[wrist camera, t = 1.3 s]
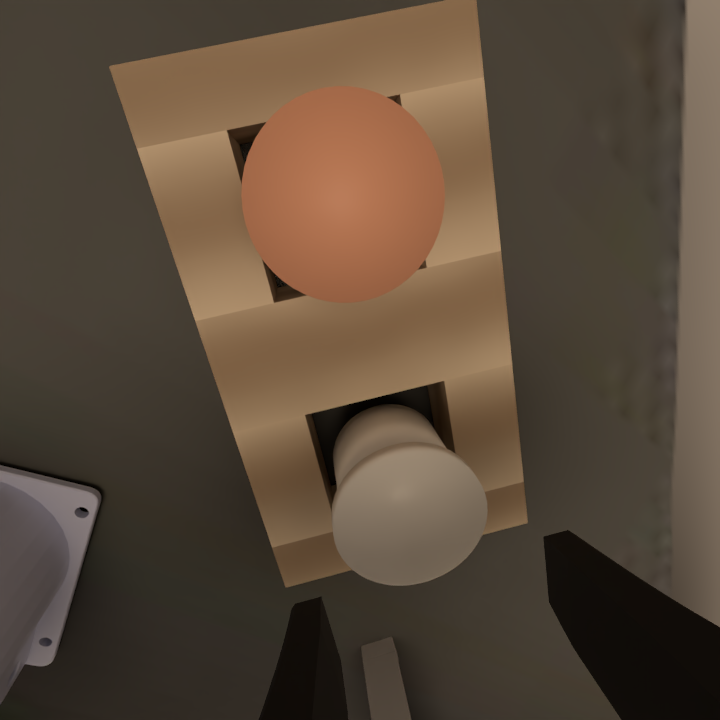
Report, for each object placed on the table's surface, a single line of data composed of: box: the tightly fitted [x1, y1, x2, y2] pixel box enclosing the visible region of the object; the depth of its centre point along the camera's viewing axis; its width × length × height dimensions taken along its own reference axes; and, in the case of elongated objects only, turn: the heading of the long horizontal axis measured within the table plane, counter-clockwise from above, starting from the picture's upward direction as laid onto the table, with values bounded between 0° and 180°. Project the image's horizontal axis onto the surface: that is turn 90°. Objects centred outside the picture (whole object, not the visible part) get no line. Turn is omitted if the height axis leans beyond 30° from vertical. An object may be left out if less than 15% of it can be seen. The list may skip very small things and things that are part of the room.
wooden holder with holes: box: [109, 0, 528, 587], centre depth 17 cm, size 18×10×3 cm, turn 12°
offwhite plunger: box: [331, 404, 488, 586], centre depth 15 cm, size 5×5×4 cm
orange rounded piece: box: [241, 86, 445, 303], centre depth 12 cm, size 5×5×4 cm
